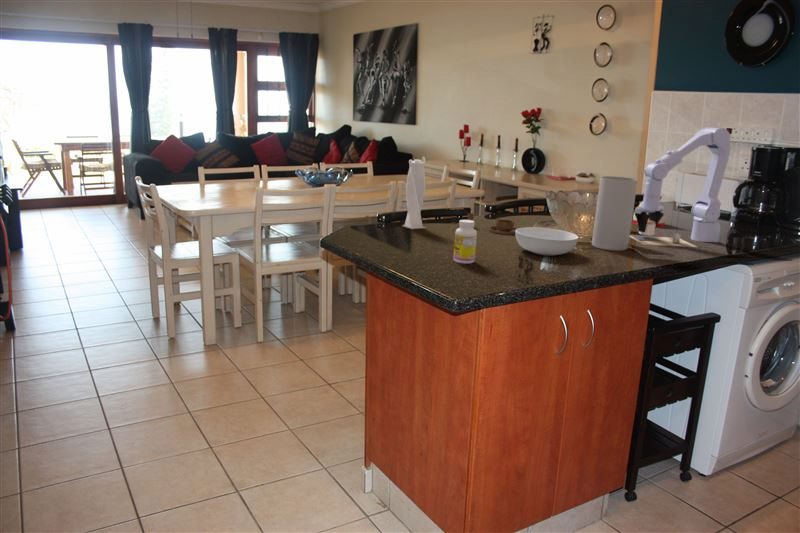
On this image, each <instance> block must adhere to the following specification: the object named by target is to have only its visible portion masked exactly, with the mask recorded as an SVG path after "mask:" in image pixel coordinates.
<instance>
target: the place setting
mask: <svg viewBox="0 0 800 533" xmlns="http://www.w3.org/2000/svg"><path fill="white" fill-rule="evenodd" d="M474 217H475V216H474V213H470V212H469V213H467V220H472V221H474ZM488 229H489V230H488V231H489V232H490V233H493V234H497V235H503V236H514V235H515V236H516V234H515V231H516V229H518V228H517V227H515V221H514V220H510V219H497V220H496V221H495V225H493V226H489V228H488ZM478 231H479V232H481V230H480V229H477V230H476V232H478Z"/></svg>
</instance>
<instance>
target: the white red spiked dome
mask: <svg viewBox="0 0 800 533" xmlns="http://www.w3.org/2000/svg"><path fill="white" fill-rule="evenodd" d="M642 196H643V198H644V192H643V193H642ZM662 198H663V197H662V196H661V195H660V200H661V199H662ZM642 205H643V200H642V201H641V202H640V203H639V204H638V206H636V208H638V207H641V206H642ZM659 206H662V207H663V205H662V203H661V202H660V201H659ZM660 213H664V215H663V217H662V218H661V219H660V221H659V222H658V224H657V227H656V228H662V227H665V224H666V214H665V211H664V212H660ZM633 214H634V216H633V223H632V224H634V225H636V226H638V222H637V218H636V216H635V212H633ZM646 214H647V215H649V214H648V213H646ZM648 220H649V219H648Z"/></svg>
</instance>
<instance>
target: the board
mask: <svg viewBox="0 0 800 533" xmlns="http://www.w3.org/2000/svg"><path fill="white" fill-rule="evenodd" d="M654 237H655V238H657V239H659V240H660V241H640V240H638V239H636V238H634V237H632V236H631V235H630V236H629V238H631V239H633V240H634V241H637V242H639V243H640V244H642V245H644V246H645V245H646V246H647V245H648V246H664V247H665V246H666V247H667V246H669V247H687V248H688V247H689V248H698V246H697V245H695V244H693V243H691V242H688V241H686V240H684V239H682V238H680V241H679V244H674V243H672V241H673V236H672V237H671V236H669V237H667V236H654Z"/></svg>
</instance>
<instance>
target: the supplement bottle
mask: <svg viewBox="0 0 800 533" xmlns="http://www.w3.org/2000/svg"><path fill="white" fill-rule="evenodd" d="M458 224H459V228H456V229H455V233H454V234H455V235H454V247H453V257H452V258H453V259H452V260H453V261H454V262H455V263H458V264H473V263H474V262H476V261H475V259H476V249H477V237H478V231H477V230H476V229H474V227H475V225H476V224H475V221H474V220H468V219H460V220H459V222H458Z"/></svg>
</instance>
